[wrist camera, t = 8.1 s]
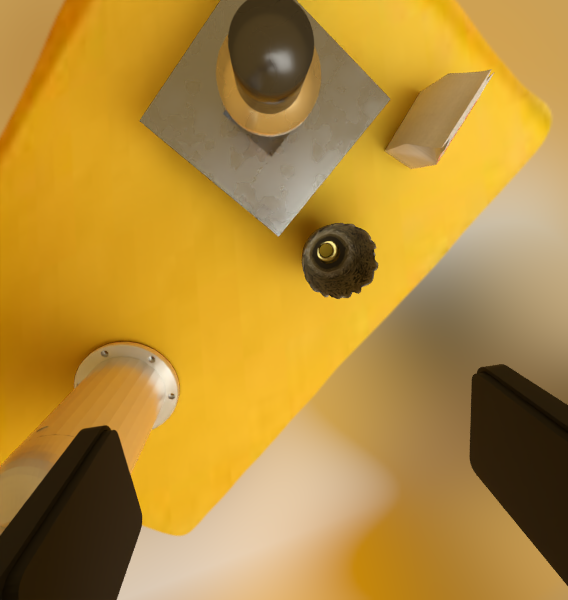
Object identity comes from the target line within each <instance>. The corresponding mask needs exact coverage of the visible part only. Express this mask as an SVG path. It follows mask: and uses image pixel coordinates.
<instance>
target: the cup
mask: <svg viewBox="0 0 568 600" xmlns="http://www.w3.org/2000/svg"><path fill="white" fill-rule="evenodd" d="M323 244H330V245H331V246H332V248H333V253H332V254H331V256H329V257H323V256H321V255H320V253H319V249H320V247H321V246H322V245H323ZM374 249H376V245H375V243H374V242H373V241H372V240H371V237H370V235H369V234H368V233H367V232H366V231H365V230H363V229H361V228H358V227H355V225H353V224H343V223H335V224H331V225H327V226H324V227H322V228H320V229H318V230H316V231H315V232H314V233H313V234H312V235H311V236H310V237H309V238H308V240H307V241H306V243H305V245H304V248H303V253H302V266H303V271H304V274H305V278H306V280H307V282H308V283H309V285H310V286H311V288H312V289H313V290H314V291H315V292H320V293H321V294H322V295H323V296H324V297H328V295H330V296H331V297H334V298H336V299H340V298H342V297H343V298H349V297H350V296H351V294H352V292H355V293H358V294H359V293H360V292H361V287H363V286H366V285H368V284H370V283H371V282H372V281H373V277H374V271H375V270H377V268H378V263H377V262H376V260H375V253H374Z"/></svg>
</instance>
